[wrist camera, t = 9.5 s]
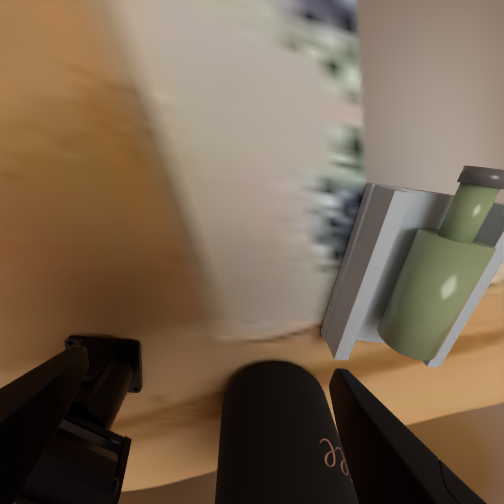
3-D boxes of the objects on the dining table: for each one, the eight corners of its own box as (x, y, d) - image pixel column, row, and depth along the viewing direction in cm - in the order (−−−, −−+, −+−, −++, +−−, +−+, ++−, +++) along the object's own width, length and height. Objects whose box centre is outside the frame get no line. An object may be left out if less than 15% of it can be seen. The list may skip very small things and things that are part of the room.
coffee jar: (315, 422, 29) (410, 781, 13) (224, 425, 29) (202, 800, 12) (327, 354, 25) (492, 760, 9) (221, 357, 25) (179, 788, 8)
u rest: (417, 340, 25) (441, 367, 22) (320, 331, 24) (331, 358, 21) (489, 200, 19) (535, 211, 16) (367, 182, 18) (392, 190, 15)
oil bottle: (398, 318, 23) (448, 352, 20) (366, 327, 21) (414, 367, 18) (466, 167, 18) (550, 177, 15) (431, 160, 16) (519, 170, 13)
